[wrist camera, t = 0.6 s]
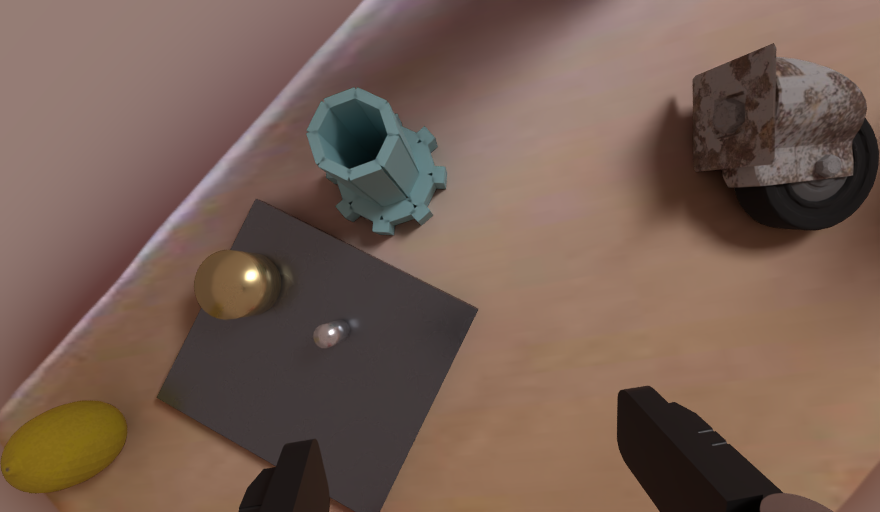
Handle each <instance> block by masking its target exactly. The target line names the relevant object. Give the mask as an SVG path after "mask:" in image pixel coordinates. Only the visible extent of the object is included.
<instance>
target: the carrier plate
mask: <svg viewBox="0 0 880 512" xmlns="http://www.w3.org/2000/svg"><path fill="white" fill-rule="evenodd" d="M194 291H195V296H196V299H197V301H198V303H199V305H200V306H201V310H200V312H199V314H198V316H197V318H196V320H195V322H194V324H193V326H192V328H191V330H190V332H189V334H188V336H187V338H186V340H185V342H184V344H183V346H182V348H181V350H180V352H179V354H178V356H177V358H176V360H175V362H174V364H173V366H172V368H171V370H170V372H169V374H168V376H167V378H166V380H165V382H164V384H163V386H162V388H161V390H160V392H159V394H158V396H157V398H158V399H160V400H162V401H163V402H165V403H167V404H169V405H170V406H172V407H174V408H175V409H177V410H179V411H181V412H182V413H184V414H186V415H188V416H189V417H191V418H193V419H195V420H196V421H198V422H200V423H202V424H203V425H205V426H207V427H209V428H210V429H212V430H214V431H216V432H217V433H219V434H221V435H223V436H224V437H226V438H228V439H229V440H231V441H233V442H235V443H236V444H238V445H240V446H242V447H243V448H245V449H247V450H249V451H250V452H252V453H254V454H256V455H257V456H259V457H261V458H263V459H264V460H266V461H268V462H270V463H271V464H273V465H275V466H276V465H277V462H278V460H279V457H280V454H281V451H282V449H283V446H284V445H285V444H286V443H292V442H298V441H304V440H310V439H316V440H317V441H318V444H319V447H320V452H321V456H322V460H323V465H324V469H325V473H326V478H327V482H328V487H329V496H330V497H331V498H332V499H334V500H336V501H338V502H339V503H341V504H343V505H344V506H346V507H348V508H350V509H351V510H353V511H355V512H380V510H381V508H382V506H383V504H384V502H385V500H386V498H387V496H388V494H389V492H390V489H391V487H392V485H393V483H394V481H395V479H396V477H397V475H398V473H399V471H400V469H401V467H402V465H403V463H404V461H405V459H406V457H407V455H408V453H409V451H410V448H411V446H412V444H413V442H414V440H415V438H416V436H417V434H418V432H419V430H420V428H421V426H422V424H423V422H424V420H425V418H426V416H427V414H428V412H429V410H430V408H431V405H432V403H433V401H434V399H435V397H436V395H437V393H438V391H439V389H440V387H441V385H442V383H443V381H444V379H445V377H446V375H447V373H448V371H449V369H450V367H451V364H452V362H453V360H454V358H455V356H456V354H457V352H458V350H459V348H460V346H461V344H462V342H463V340H464V338H465V336H466V334H467V332H468V330H469V328H470V326H471V323H472V321H473V319H474V317H475V315H476V313H477V311H478V308H476V307H474V306H472V305H470V304H468V303H466V302H464V301H462V300H460V299H458V298H456V297H454V296H452V295H450V294H448V293H446V292H444V291H442V290H440V289H438V288H436V287H434V286H432V285H430V284H428V283H426V282H424V281H422V280H420V279H418V278H416V277H414V276H412V275H410V274H408V273H406V272H404V271H402V270H400V269H398V268H396V267H394V266H392V265H390V264H388V263H386V262H384V261H382V260H380V259H378V258H376V257H374V256H372V255H370V254H368V253H366V252H364V251H362V250H360V249H358V248H356V247H354V246H352V245H350V244H348V243H346V242H344V241H342V240H340V239H338V238H336V237H334V236H332V235H330V234H328V233H326V232H324V231H322V230H320V229H318V228H316V227H314V226H312V225H310V224H308V223H306V222H304V221H302V220H300V219H297V218H295V217H293V216H291V215H289V214H287V213H285V212H283V211H281V210H279V209H277V208H275V207H273V206H271V205H269V204H267V203H265V202H263V201H261V200H258V199H255V201H254V203H253V205H252V207H251V209H250V211H249V213H248V215H247V217H246V219H245V221H244V223H243V225H242V227H241V229H240V231H239V233H238V235H237V237H236V239H235V241H234V243H233V246H232V248H231V250H223V251H219V252H216V253H214V254H212V255H210V256H209V257H208V258H206V259H205V260H204V261H203V262H202V264H201V265H200V267H199V268H198V271H197V273H196V276H195V281H194Z"/></svg>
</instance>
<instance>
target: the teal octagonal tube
mask: <svg viewBox="0 0 880 512" xmlns="http://www.w3.org/2000/svg"><path fill="white" fill-rule="evenodd" d="M307 131H308V132H309V133H306V134H307V137H308V140H309V144H310V147H311V150H312V153H313V156H314V159H315V162H316V164H317V165H318V167H320V168H321V169H322V170H324V171H325V172H326V178H327V179H329V180H330V181H332V182H333V183H334V184H338V186H339V189H340V193H341V196H342V199H343V200H342V201H340V202H339V203H338V204H337V205H336V206H335V207H336V208H337V209H338V210H339V211H340V212H341V214H342V215H343V216H344V217H345V218H346V219H348V220H350V221H352V222H354V221H355V220H356V219H357V218H359V217H360V216H362V217H364V218H367V219H369V220H371V221H373V230H372V231H373V232H375V233H377V234H379V235H394V229H395V225H398V224H401V223H404V222H407V221H409V220H412V219H416V220H417V222H418V223H419V224H420V225H421V226H422V225H423V224H424V223H425V222H426V221H427V220H428V219H430V218H431V217H432V216H433V214H432V213H431V211H430V210H429V209H428V208H427V207H428V205H429V203H430V201H431V199H432V196H433V194H434V192H435V190H436V189H446V182H447V172H446V168H445V167H442V166H435V165H434V162H433V159H432V156H431V152H432V151H433V150H435V149H436V148H437V147H438V146H437V143H436V139H435V137H434V136H433V135H432V134H431V133H430V132H429V131H428V130H427V128H426V127H425V126H424V127H423V128H422V129H421V130H420V131H418V132H417V133H416V132H413V131H411V130H409V129H407V128H405V127H402V123H401V121H400V119H399V117H398V114H394V112H393V110H392V108H391V106H390V104H389V103H388V102H387V100H385V99H382V98H380V97H378V96H376V95H373V94H371V93H369V92H367V91H365V90H362V89H360V88H358V87H357V89H355V88H354V87H353V88H351V89H348V90H345V91H343V92H340V93H338V94H335V95H332V96H330V97H327V98H324V102H322V101H321V102H320V104H319V106H318V108H317V110H316V112H315V114H314V116H313V118H312V120H311V122H310V124H309V126H308V128H307Z"/></svg>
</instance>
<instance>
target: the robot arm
mask: <svg viewBox="0 0 880 512" xmlns="http://www.w3.org/2000/svg"><path fill="white" fill-rule="evenodd" d="M617 442H618V446H619V450H620V453H621V455H622V458H623V460H624V461H625V463H626V465H627V466H628V467H629V469H630V470H631V472H632V473H633V475H634V476H635V477H636V479H637V480H638V482H639V483H640V484H641V486H642V487H643V489H644V490H645V491H646V493H647V494H648V496H649V497H650V498H651V500H652V501H653V503H654V504H655V505H656V507H657V508H658V510H659V511H660V512H833V511H832V510H830V509H828V508H827V507H825V506H823V505H821V504H819V503H817V502H815V501H813V500H810V499H808V498H805V497H802V496H798V495H794V494H787V493H783V492H782V491H781V490H780V489H779V488H777V487H776V486H775V485H774V484H773V483H772V482H771V481H770V480H769V479H768V478H766V477H765V476H764V475H763V474H762V473H761V472H760V471H759V470H758V469H757V468H755V467H754V466H753V465H752V464H751V463H750V462H749V461H748V460H747V459H746V458H744V457H743V456H742V455H741V454H740V453H739V452H738V451H737V450H736V449H735V448H734V447H732V446H731V445H730V444H727V443H726V440H725V439H724V438H723V437H721V436H720V435H719V434H718V433H717V432H716V431H713V429H712V427H710V426H709V425H708V424H707V423H706V422H705V421H704V420H703V419H702V418H701V417H699V416H698V415H697V414H696V413H694V412H692V411H691V410H689V409H687V408H685V407H683V406H681V405H679V404H677V403H676V402H672V403H668V402H667V401H666V400H665V399H664V398H663V397H662V396H661V395H660V394H659V393H658V392H657V391H655V390H654V389H653V388H652V387H650V386H643V387H637V388H631V389H624V390H620V391H619V393H618V407H617ZM329 507H330V496H329V487H328V482H327V478H326V473H325V469H324V465H323V460H322V456H321V452H320V447H319V444H318V441H317V440H316V439H310V440H304V441H298V442H292V443H286V444H285V445H284V446H283V449H282V451H281V454H280V457H279V460H278V462H277V465H276V467H274V468H268V469H263V470H262V472H261V473H260V474H259V475H258V476H257V477H256V479H255V480H254V481H253V482H252V483H251V484H250V486H249V487H248V488H247V490H246V493H245V495H244V497H243V500H242V502H241V504H240V507H239V512H329Z"/></svg>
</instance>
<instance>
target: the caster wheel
mask: <svg viewBox="0 0 880 512" xmlns="http://www.w3.org/2000/svg"><path fill="white" fill-rule="evenodd" d="M866 111H867V105H866V100H865V98H864V96H863V94H862V92H861V90H860V89H859V88H858V87H857V85H856V84H855V83H853V82H852V81H851V80H850V79H849V78H847V77H845V76H844V75H842V74H840V73H839V72H837V71H834V70H832V69H830V68H828V67H825V66H822V65H819V64H816V63H812V62H808V61H804V60H799V59H793V58H784V57H776V47H775V44H774V43H773V44H771V45H768V46H766V47H763V48H761V49H759V50H756V51H754V52H751V53H749V54H747V55H744V56H742V57H740V58H737V59H735V60H732V61H730V62H728V63H725V64H723V65H720V66H718V67H716V68H713V69H711V70H708V71H706V72H704V73H701V74H699V75H697V76H695V77H694V78H693V152H694V169H695V172H698V171H708V170H719V169H722V174H723V178H724V180H725V182H726V184H727V186H728V187H734V189H735V192H736V195H737V198H738V200H739V202H740V204H741V206H742V207H743V209H744V210H745V212H746V213H747V214H749V215H750V216H751V217H752V218H753V219H754V220H756V221H758V222H759V223H761V224H764V225H766V226H769V227H775V228H784V229H798V230H821V229H825V228H828V227H832V226H834V225H836V224H838V223H840V222H842V221H843V220H845V219H846V218H848V217H849V216H851V215H852V214H853V213H854V212H855V211H856V210H857V209H858V208H859V207H860V205H861V204H862V203H863V202H864V200H865V199H866V198H867V196H868V194H869V192H870V190H871V188H872V187H873V184H874V181H875V179H876V175H877V170H878V163H879V151H878V144H877V139H876V137H875V134H874V131H873V129H872V127H871V126H870V124H869V123H868V121H867V120H866V118H865V116H866Z"/></svg>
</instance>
